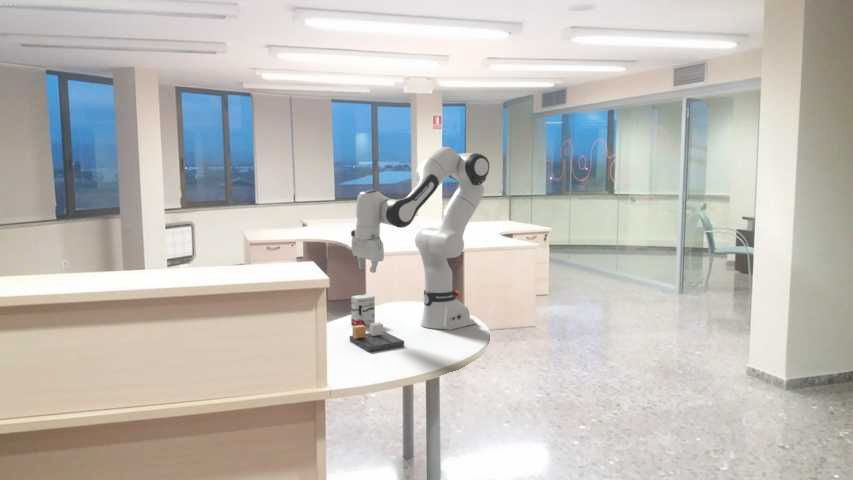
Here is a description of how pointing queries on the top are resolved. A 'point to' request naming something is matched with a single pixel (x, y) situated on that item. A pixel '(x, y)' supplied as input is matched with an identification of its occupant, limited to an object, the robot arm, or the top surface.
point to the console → (377, 342)
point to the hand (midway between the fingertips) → (367, 270)
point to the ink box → (362, 310)
